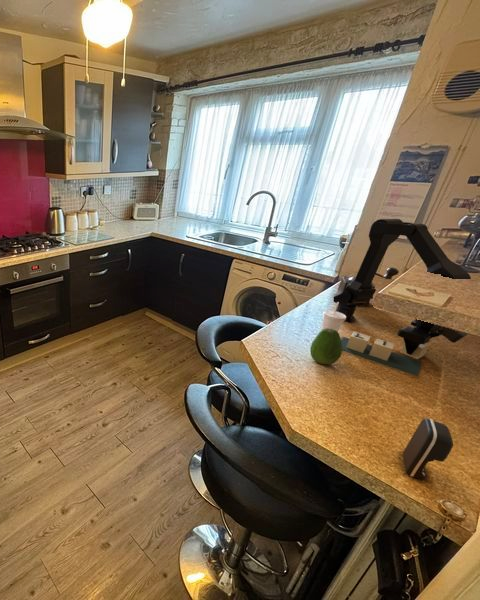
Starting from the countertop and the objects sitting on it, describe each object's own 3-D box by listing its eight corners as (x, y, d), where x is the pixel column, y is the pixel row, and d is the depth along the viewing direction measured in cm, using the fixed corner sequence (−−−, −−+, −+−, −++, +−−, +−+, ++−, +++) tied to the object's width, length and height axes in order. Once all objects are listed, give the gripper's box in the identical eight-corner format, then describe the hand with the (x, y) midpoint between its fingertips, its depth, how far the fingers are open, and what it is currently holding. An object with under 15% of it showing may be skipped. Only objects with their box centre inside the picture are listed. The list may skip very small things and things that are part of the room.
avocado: (303, 353, 106) (314, 321, 101) (331, 358, 103) (344, 326, 98) (309, 367, 99) (321, 334, 94) (340, 372, 96) (354, 339, 91)
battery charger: (430, 486, 64) (459, 445, 59) (404, 475, 66) (430, 435, 61) (425, 461, 69) (451, 422, 64) (401, 452, 71) (424, 413, 66)
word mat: (343, 337, 115) (343, 336, 114) (420, 362, 101) (421, 361, 101) (335, 349, 108) (335, 348, 108) (416, 377, 94) (417, 376, 94)
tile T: (405, 349, 108) (411, 337, 106) (423, 356, 104) (429, 344, 102) (399, 353, 106) (405, 341, 104) (416, 360, 102) (423, 347, 100)
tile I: (371, 349, 107) (376, 337, 105) (389, 355, 104) (395, 343, 102) (368, 354, 104) (374, 342, 102) (387, 361, 101) (392, 348, 99)
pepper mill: (338, 302, 141) (352, 263, 133) (335, 294, 150) (348, 257, 142) (383, 310, 134) (401, 270, 126) (378, 301, 142) (394, 262, 135)
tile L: (349, 342, 111) (354, 331, 109) (365, 347, 108) (370, 336, 106) (346, 347, 108) (350, 335, 106) (362, 353, 105) (368, 340, 103)
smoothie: (330, 334, 117) (343, 299, 111) (341, 343, 111) (355, 307, 105) (311, 333, 117) (323, 298, 112) (321, 342, 112) (335, 306, 106)
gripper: (459, 328, 87) (433, 374, 94) (484, 313, 95) (458, 357, 102) (407, 311, 97) (386, 354, 103) (434, 299, 104) (413, 340, 111)
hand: (412, 352), depth 104 cm, fingers closed on tile T, 4 cm apart
